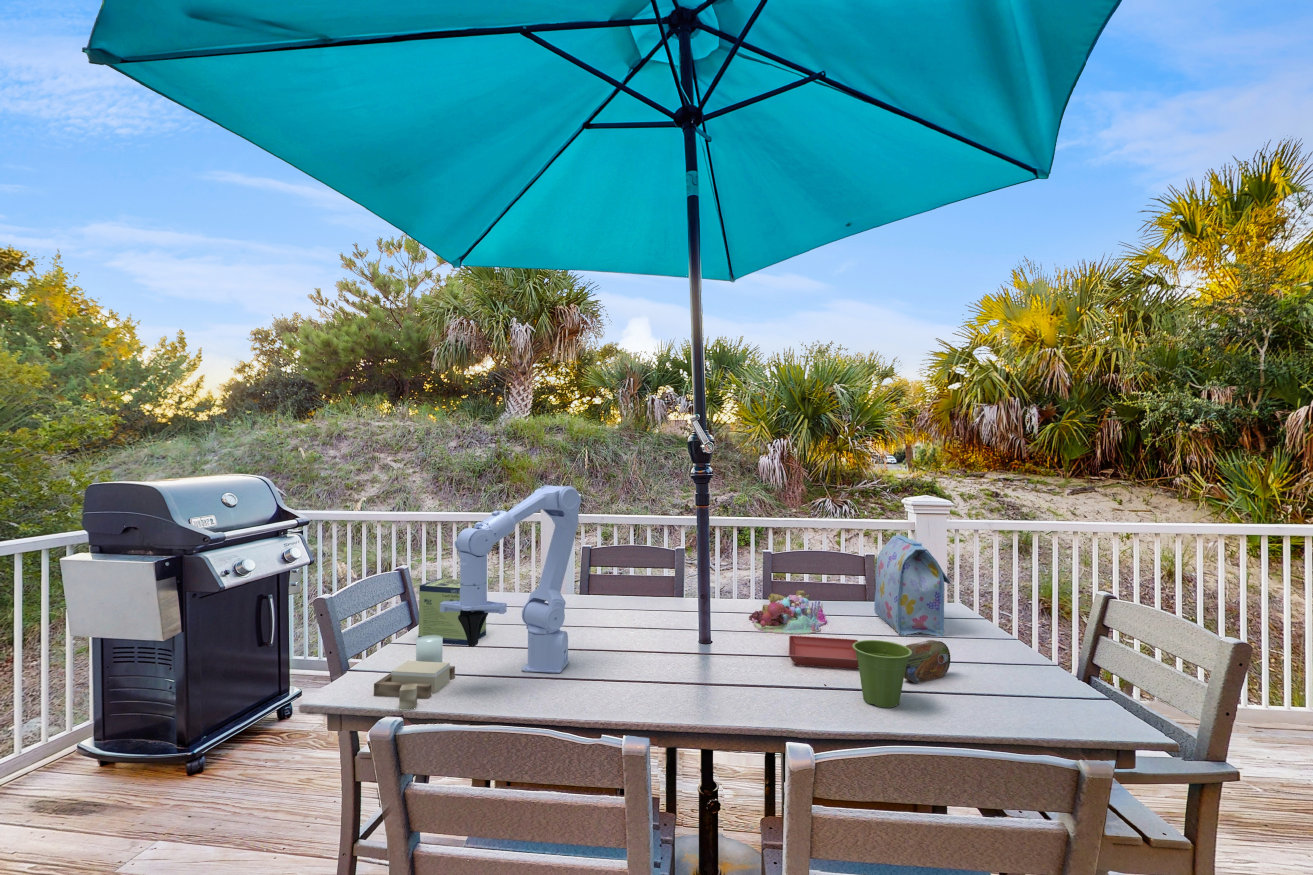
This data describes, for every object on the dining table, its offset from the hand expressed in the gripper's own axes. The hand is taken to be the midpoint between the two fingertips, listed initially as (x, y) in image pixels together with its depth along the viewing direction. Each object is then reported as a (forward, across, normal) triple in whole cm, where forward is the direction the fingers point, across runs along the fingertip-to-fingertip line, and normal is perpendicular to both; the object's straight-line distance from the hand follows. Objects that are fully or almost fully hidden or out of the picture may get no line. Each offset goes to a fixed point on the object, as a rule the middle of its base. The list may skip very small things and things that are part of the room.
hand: (473, 645), depth 141 cm
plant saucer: (+11, +80, +33) cm, 87 cm away
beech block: (+10, -9, -11) cm, 17 cm away
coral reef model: (+11, +74, +66) cm, 99 cm away
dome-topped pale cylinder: (+10, -16, +12) cm, 22 cm away
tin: (+10, +101, +21) cm, 104 cm away
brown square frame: (+10, -14, 0) cm, 17 cm away
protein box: (+10, -21, +36) cm, 43 cm away
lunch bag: (+10, +110, +67) cm, 129 cm away
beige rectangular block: (+10, -12, 0) cm, 16 cm away
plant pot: (+10, +88, +5) cm, 89 cm away
